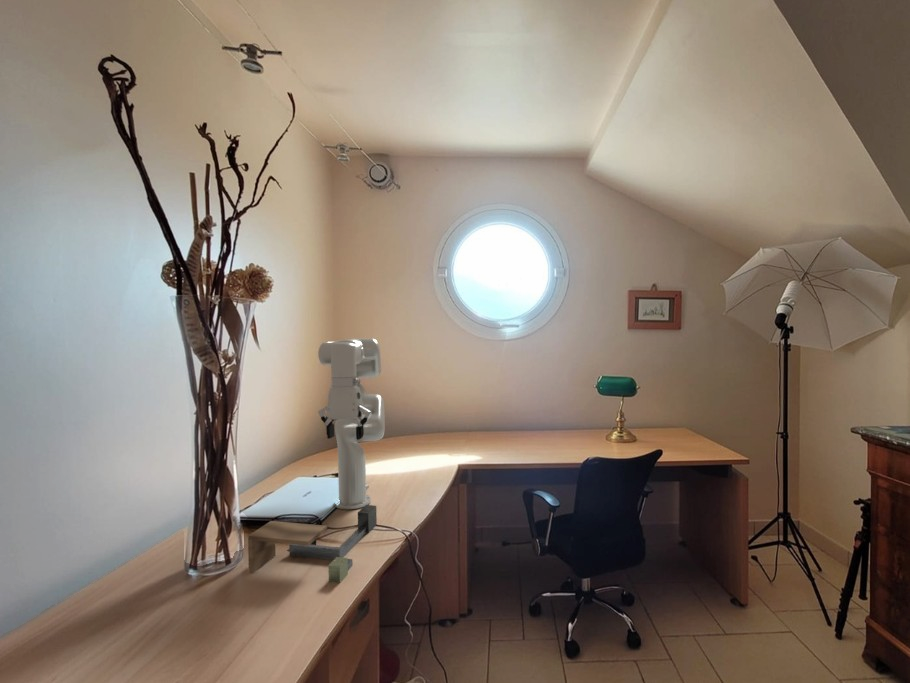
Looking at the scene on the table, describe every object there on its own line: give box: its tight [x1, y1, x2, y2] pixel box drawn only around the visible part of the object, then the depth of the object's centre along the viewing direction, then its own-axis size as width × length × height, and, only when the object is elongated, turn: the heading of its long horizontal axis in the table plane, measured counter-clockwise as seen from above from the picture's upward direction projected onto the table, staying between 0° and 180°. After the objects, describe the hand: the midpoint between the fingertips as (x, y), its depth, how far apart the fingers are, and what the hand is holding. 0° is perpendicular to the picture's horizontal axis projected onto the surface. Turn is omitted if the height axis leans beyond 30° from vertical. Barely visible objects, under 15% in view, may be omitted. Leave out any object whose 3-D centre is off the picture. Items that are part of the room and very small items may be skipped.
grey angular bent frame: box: [288, 504, 378, 561], centre depth 126 cm, size 23×16×6 cm
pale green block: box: [327, 557, 354, 584], centre depth 107 cm, size 8×3×4 cm, turn 167°
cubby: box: [247, 520, 328, 574], centre depth 110 cm, size 9×17×10 cm, turn 77°
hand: (345, 438), depth 132 cm, fingers open, 9 cm apart
